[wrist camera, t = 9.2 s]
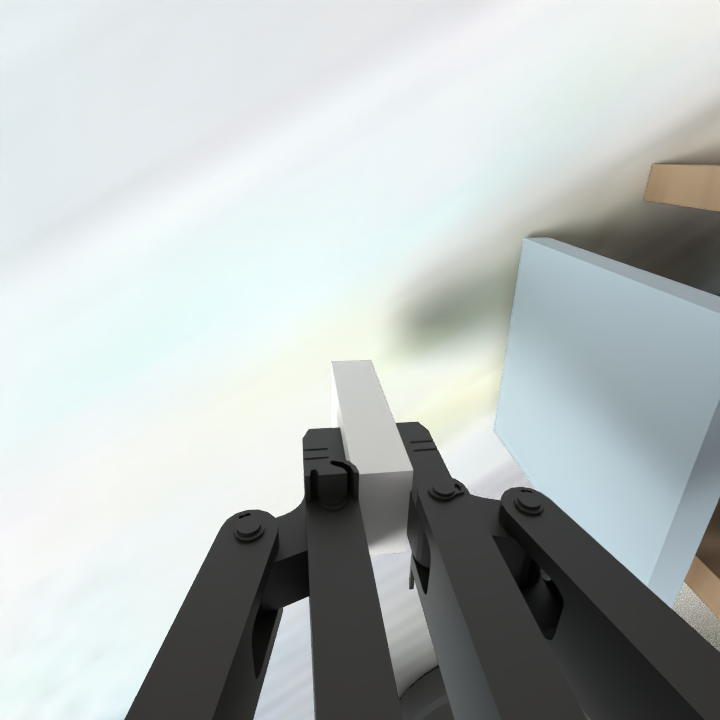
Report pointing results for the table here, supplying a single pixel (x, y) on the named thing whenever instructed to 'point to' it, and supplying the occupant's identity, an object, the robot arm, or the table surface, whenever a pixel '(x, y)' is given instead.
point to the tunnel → (712, 192)
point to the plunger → (616, 404)
